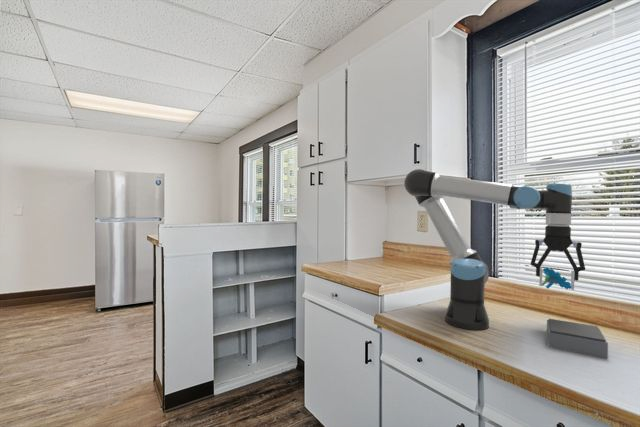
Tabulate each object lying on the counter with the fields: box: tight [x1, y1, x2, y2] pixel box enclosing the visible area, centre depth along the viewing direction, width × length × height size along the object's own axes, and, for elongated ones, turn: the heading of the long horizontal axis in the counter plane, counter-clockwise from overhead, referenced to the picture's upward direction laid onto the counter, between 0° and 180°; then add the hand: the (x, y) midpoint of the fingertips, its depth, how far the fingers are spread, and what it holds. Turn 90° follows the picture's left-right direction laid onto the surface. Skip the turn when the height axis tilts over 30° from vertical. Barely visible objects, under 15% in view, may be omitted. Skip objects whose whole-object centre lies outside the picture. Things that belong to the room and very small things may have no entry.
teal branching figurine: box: [541, 267, 572, 290], centre depth 119 cm, size 11×6×10 cm
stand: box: [546, 318, 609, 359], centre depth 104 cm, size 14×15×5 cm
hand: (556, 287), depth 119 cm, fingers closed on teal branching figurine, 9 cm apart
